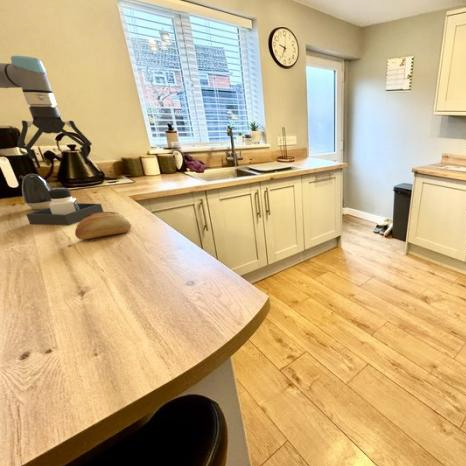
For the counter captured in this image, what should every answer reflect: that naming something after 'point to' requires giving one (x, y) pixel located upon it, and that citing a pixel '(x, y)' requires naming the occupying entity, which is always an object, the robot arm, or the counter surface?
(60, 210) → the medicine bottle
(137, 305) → the counter surface
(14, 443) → the counter surface
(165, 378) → the counter surface
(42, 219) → the bin
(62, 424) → the counter surface
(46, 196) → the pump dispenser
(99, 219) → the bread roll
